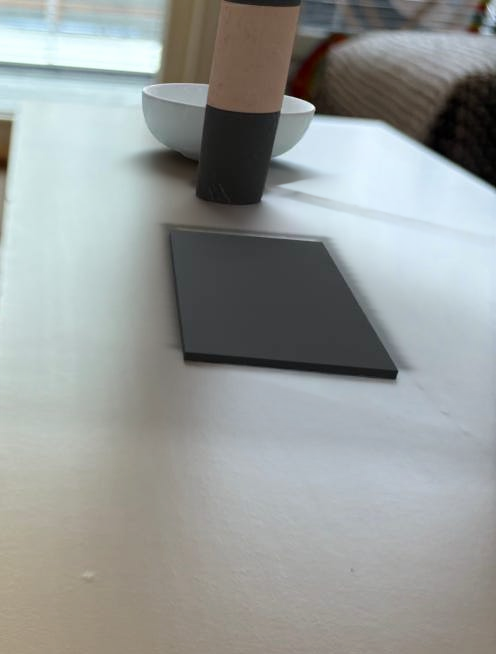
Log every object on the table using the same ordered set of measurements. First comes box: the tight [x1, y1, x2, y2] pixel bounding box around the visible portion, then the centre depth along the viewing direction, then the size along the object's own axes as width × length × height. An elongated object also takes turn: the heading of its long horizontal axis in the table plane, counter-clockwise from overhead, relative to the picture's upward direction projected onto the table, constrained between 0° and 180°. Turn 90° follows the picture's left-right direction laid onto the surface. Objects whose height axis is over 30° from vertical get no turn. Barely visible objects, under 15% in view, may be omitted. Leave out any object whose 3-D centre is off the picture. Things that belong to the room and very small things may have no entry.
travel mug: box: [195, 0, 302, 205], centre depth 98 cm, size 8×8×20 cm
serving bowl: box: [141, 82, 316, 162], centre depth 120 cm, size 21×21×7 cm
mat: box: [168, 229, 399, 380], centre depth 77 cm, size 32×14×1 cm, turn 174°
